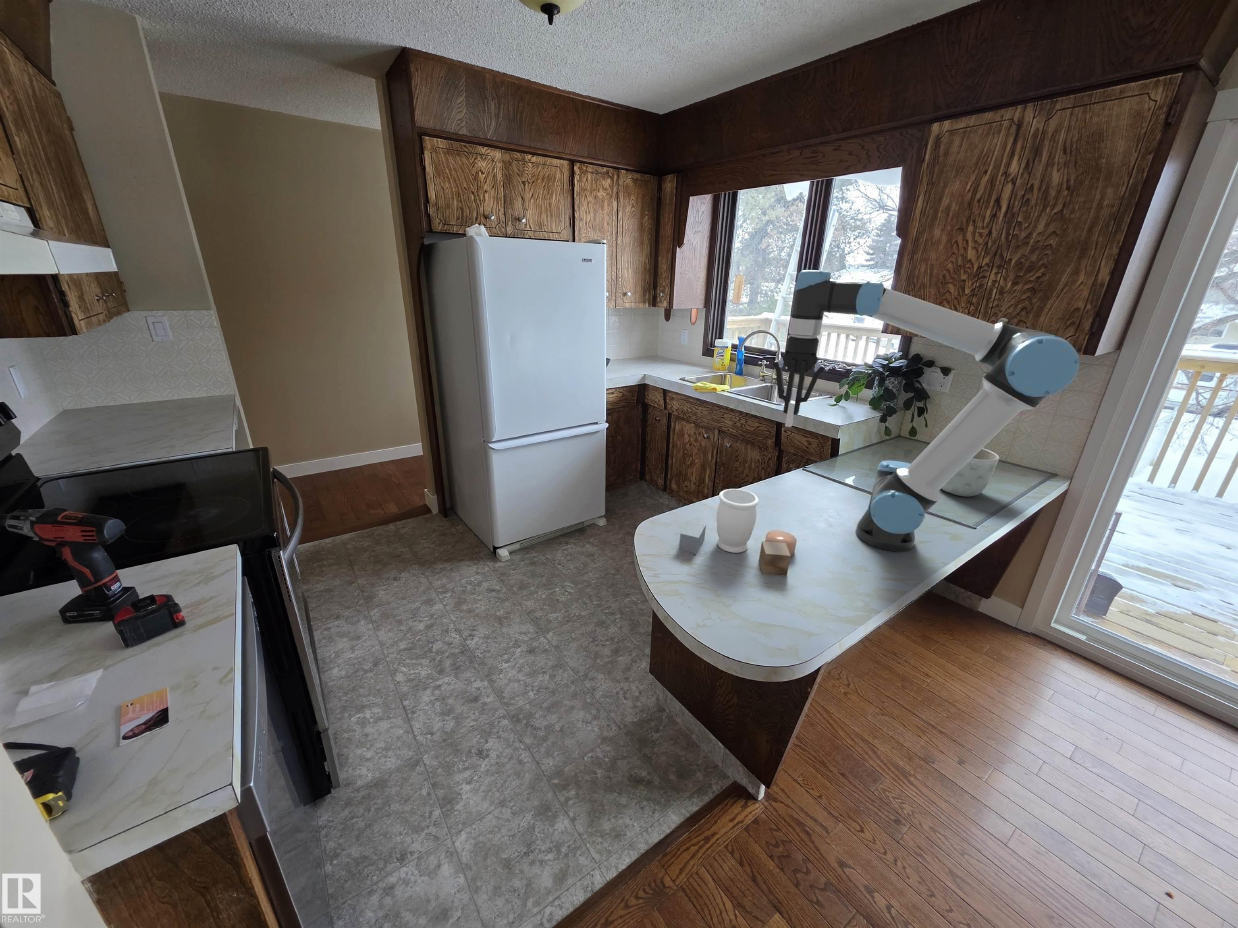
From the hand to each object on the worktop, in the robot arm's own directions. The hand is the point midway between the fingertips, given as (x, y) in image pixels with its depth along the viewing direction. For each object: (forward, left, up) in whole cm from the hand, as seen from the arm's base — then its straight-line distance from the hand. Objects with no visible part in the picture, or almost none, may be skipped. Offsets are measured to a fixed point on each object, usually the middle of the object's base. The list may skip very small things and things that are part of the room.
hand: (788, 425), depth 134 cm
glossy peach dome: (-4, +10, -33) cm, 34 cm away
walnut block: (-4, +20, -33) cm, 38 cm away
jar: (+8, +14, -33) cm, 36 cm away
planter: (-54, -63, -33) cm, 89 cm away
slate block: (+18, +19, -33) cm, 42 cm away
